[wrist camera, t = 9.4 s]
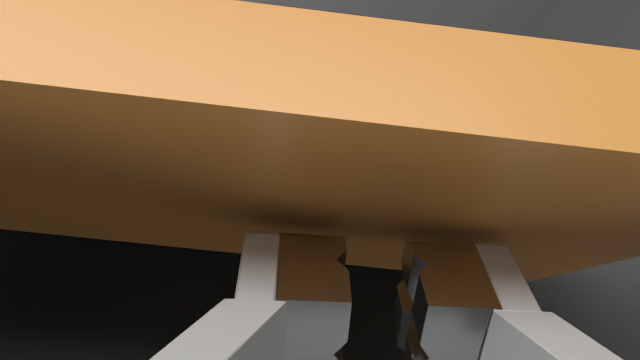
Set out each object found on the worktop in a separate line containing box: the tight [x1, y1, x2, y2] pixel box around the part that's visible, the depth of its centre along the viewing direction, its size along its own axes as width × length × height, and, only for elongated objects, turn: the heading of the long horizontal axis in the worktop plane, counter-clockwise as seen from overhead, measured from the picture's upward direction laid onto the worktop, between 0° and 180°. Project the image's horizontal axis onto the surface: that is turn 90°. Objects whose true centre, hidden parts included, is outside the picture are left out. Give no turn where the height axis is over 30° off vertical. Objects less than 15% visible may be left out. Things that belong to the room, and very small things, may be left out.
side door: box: [0, 0, 640, 282], centre depth 9 cm, size 2×16×9 cm, turn 85°
